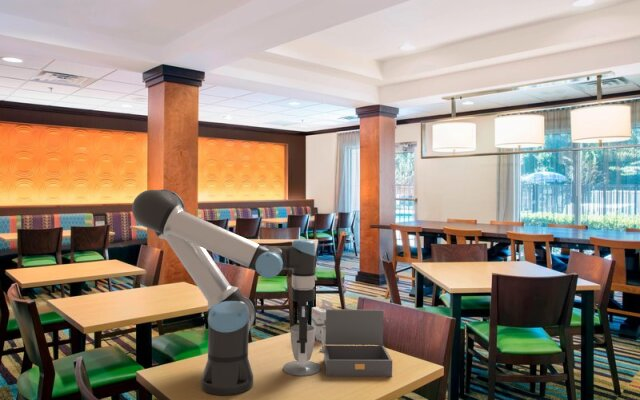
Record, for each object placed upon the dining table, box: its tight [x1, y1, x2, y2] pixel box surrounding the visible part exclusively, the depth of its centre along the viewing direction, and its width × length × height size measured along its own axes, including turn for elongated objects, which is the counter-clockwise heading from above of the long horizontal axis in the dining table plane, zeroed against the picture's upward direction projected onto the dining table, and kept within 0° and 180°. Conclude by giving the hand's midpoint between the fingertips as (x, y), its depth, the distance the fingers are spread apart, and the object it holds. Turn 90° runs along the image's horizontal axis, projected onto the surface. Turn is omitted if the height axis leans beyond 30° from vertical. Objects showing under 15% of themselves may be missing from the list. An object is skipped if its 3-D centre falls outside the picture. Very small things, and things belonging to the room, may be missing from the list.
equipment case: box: [321, 308, 393, 378], centre depth 154 cm, size 22×16×17 cm
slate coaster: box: [282, 360, 321, 377], centre depth 152 cm, size 12×12×1 cm
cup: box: [289, 324, 316, 361], centre depth 152 cm, size 8×8×10 cm
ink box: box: [311, 298, 333, 343], centre depth 185 cm, size 9×5×15 cm, turn 30°
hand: (302, 357), depth 152 cm, fingers closed on cup, 8 cm apart
